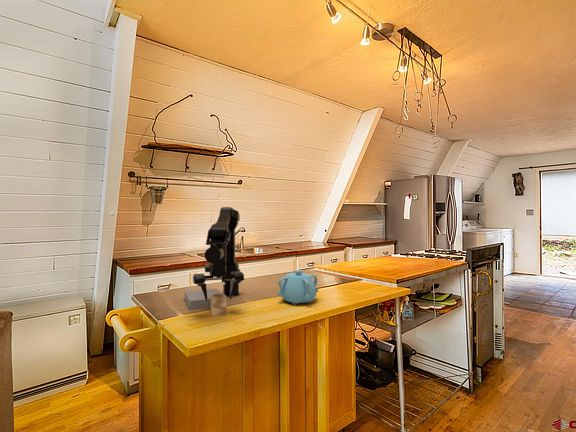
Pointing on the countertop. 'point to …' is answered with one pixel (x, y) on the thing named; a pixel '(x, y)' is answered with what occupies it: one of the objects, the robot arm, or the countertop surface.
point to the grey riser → (199, 298)
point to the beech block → (218, 304)
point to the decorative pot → (298, 287)
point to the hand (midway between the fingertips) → (218, 299)
